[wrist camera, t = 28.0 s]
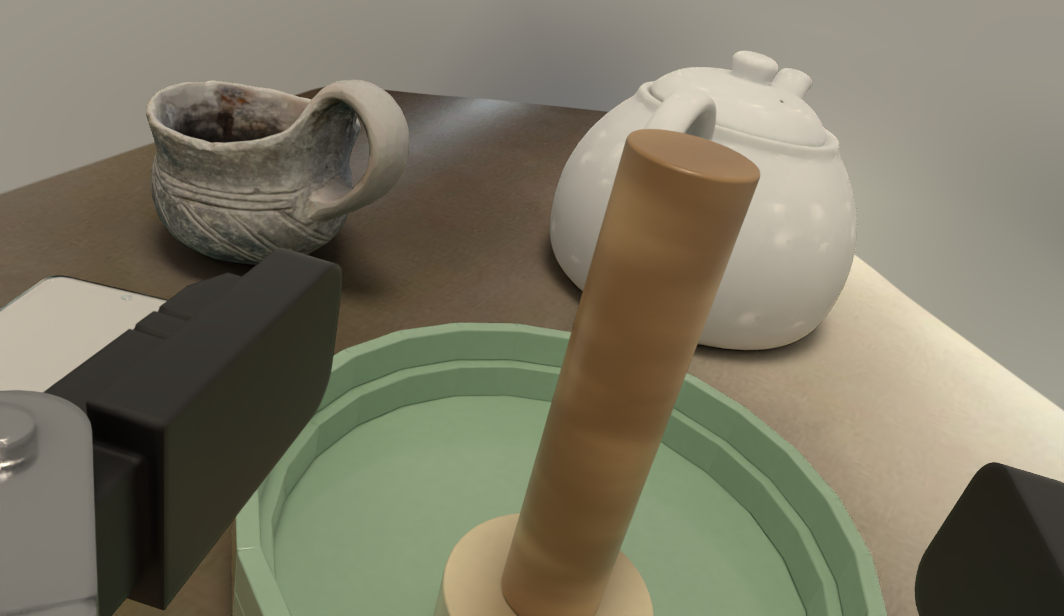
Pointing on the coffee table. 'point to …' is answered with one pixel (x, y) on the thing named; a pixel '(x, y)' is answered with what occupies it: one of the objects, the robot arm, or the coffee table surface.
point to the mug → (268, 164)
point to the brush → (612, 389)
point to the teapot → (773, 215)
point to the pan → (501, 482)
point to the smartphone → (63, 328)
